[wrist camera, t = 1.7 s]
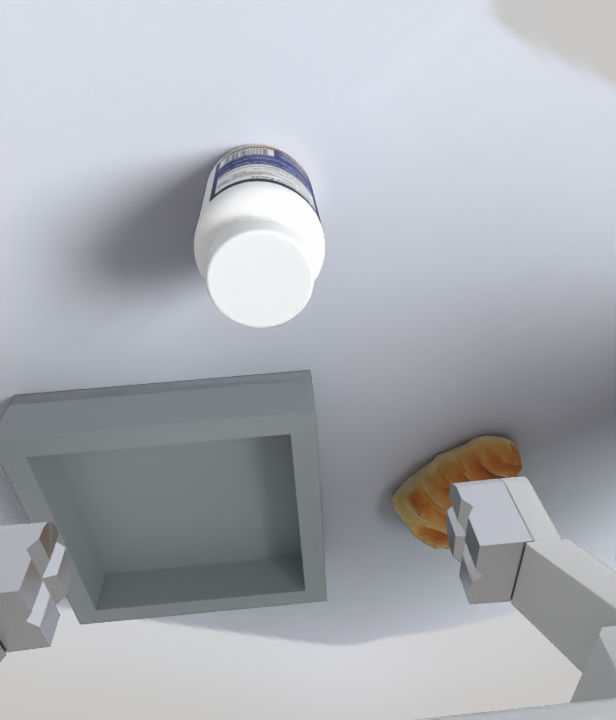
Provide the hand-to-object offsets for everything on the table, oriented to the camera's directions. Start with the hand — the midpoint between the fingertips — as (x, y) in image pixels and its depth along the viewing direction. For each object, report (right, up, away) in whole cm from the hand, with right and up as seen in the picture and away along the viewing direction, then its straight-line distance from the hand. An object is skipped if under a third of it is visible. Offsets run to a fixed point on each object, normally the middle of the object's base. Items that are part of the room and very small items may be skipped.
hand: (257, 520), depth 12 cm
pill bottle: (-1, +12, +17) cm, 21 cm away
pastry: (+11, -5, +30) cm, 33 cm away
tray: (-7, -6, +28) cm, 30 cm away
